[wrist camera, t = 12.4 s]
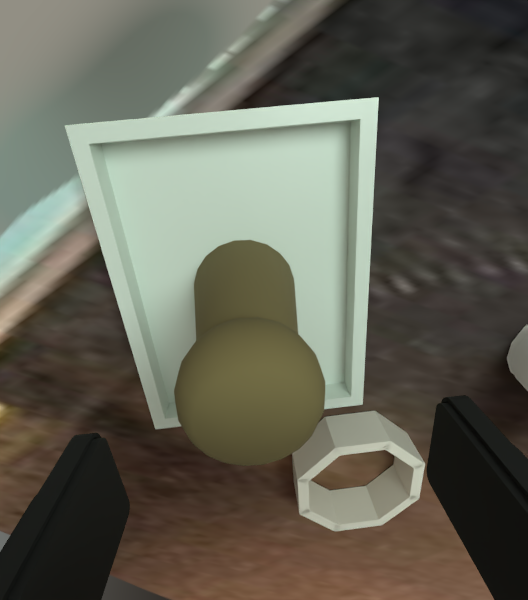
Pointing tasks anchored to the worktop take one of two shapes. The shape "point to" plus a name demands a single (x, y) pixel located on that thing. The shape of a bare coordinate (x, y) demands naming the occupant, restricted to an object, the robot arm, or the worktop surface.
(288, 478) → the worktop surface
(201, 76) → the worktop surface
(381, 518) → the collar
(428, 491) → the worktop surface
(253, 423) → the cork
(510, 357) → the foam cup
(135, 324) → the tray
